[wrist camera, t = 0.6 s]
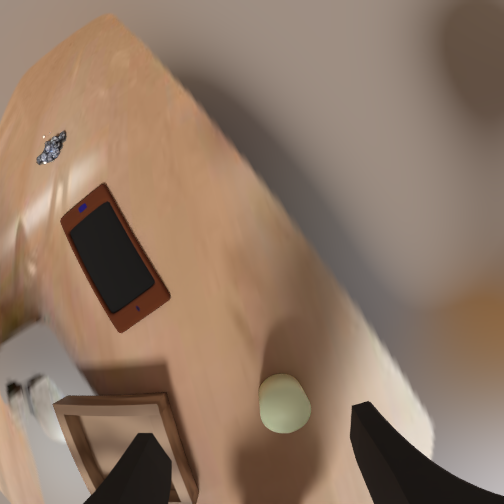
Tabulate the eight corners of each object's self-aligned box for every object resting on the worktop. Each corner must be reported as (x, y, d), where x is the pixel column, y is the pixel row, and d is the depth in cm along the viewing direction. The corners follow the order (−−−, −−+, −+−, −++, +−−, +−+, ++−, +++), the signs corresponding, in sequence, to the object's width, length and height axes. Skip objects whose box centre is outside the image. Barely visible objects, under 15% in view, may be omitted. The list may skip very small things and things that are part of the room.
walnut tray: (198, 492, 27) (194, 509, 23) (105, 488, 26) (94, 501, 23) (166, 392, 28) (157, 403, 25) (68, 395, 28) (52, 404, 24)
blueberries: (27, 160, 32) (19, 156, 30) (61, 113, 32) (54, 107, 30) (48, 185, 32) (40, 181, 30) (85, 134, 32) (77, 128, 30)
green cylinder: (304, 407, 28) (314, 427, 23) (262, 415, 28) (265, 437, 23) (298, 369, 29) (307, 384, 24) (254, 378, 28) (255, 395, 24)
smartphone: (102, 181, 30) (170, 298, 29) (106, 184, 31) (173, 297, 30) (57, 219, 29) (118, 335, 28) (61, 221, 30) (121, 333, 29)
